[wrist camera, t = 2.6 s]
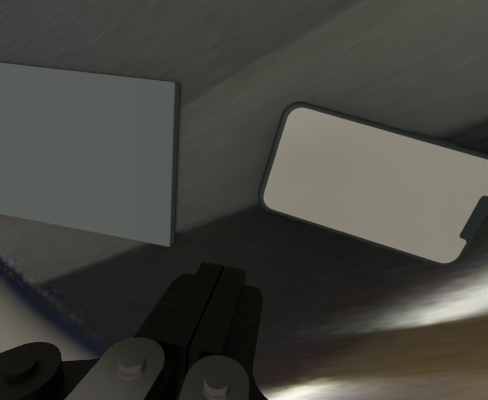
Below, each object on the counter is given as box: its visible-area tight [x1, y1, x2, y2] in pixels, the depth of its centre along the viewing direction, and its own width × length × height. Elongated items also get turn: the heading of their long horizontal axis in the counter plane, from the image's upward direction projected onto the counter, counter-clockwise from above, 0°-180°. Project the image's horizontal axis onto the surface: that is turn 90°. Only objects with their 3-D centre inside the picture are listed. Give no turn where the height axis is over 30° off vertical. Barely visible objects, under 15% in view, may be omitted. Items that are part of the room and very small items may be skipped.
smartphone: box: [258, 102, 488, 267], centre depth 22 cm, size 9×2×16 cm
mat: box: [0, 63, 180, 247], centre depth 26 cm, size 18×14×1 cm
